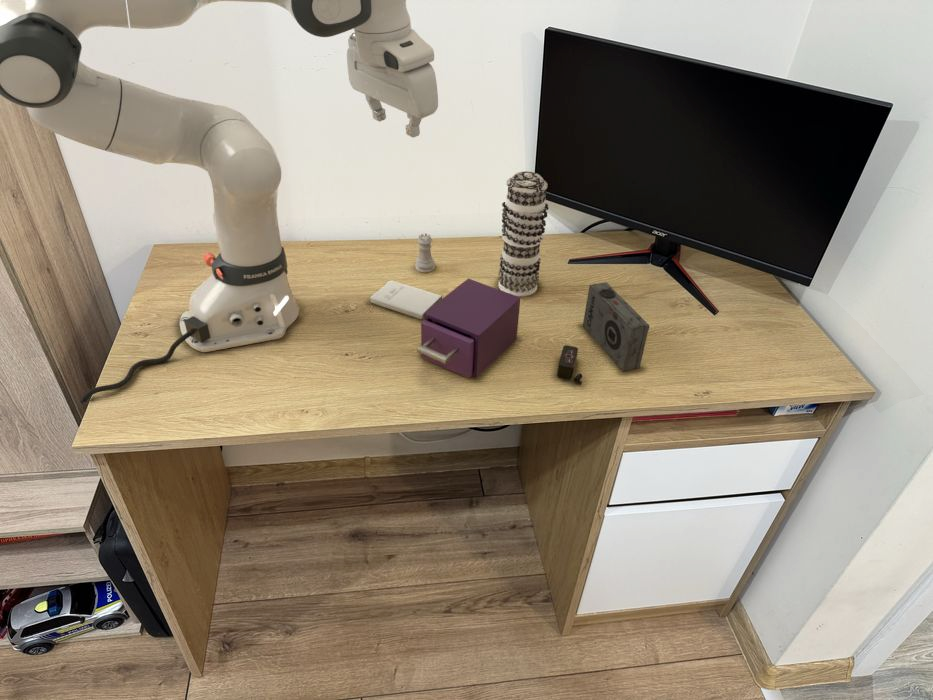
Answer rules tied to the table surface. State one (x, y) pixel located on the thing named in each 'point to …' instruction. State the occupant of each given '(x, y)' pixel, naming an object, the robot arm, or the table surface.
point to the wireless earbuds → (568, 364)
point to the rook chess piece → (424, 255)
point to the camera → (615, 326)
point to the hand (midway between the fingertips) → (396, 127)
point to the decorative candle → (522, 233)
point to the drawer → (447, 347)
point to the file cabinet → (480, 319)
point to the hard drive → (405, 299)
